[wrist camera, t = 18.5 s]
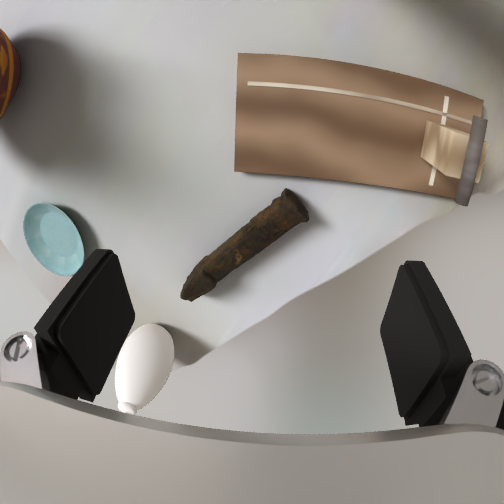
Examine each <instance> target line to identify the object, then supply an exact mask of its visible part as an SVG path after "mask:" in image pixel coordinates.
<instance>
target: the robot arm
mask: <svg viewBox="0 0 504 504" xmlns="http://www.w3.org/2000/svg"><path fill="white" fill-rule="evenodd" d="M134 320H135V312H134V309H133V306H132V302H131V299H130V296H129V293H128V290H127V286H126V283H125V280H124V276H123V273H122V269H121V266H120V262H119V259H118V256H117V255H116V254H114V252H113V251H112V250H108V249H96V250H95V251H94V252H93V253H92V254H91V255H90V256H89V258H88V259H87V260H86V261H85V262H84V263H83V265H82V266H81V267H80V268H79V269H78V271H77V272H76V273H75V274H74V276H73V277H72V278H71V279H70V281H69V282H68V283H67V284H66V286H65V287H64V288H63V289H62V291H61V292H60V293H59V295H58V296H57V297H56V298H55V300H54V301H53V302H52V304H51V305H50V306H49V308H48V309H47V310H46V312H45V313H44V314H43V316H42V317H41V319H40V320H39V322H38V323H37V324H36V326H35V327H34V329H35V330H36V332H37V334H36V336H35V337H34V336H33V335H32V334H31V333H29V332H19V333H16V334H14V335H12V336H11V337H9V338H8V339H7V340H6V341H5V343H4V344H3V346H2V348H1V352H0V504H504V373H503V371H502V370H501V369H500V368H499V367H498V366H497V365H495V364H494V363H493V362H490V361H487V360H477V361H474V362H473V360H472V357H471V353H470V350H469V348H468V346H467V344H466V342H465V340H464V337H463V335H462V333H461V331H460V329H459V327H458V325H457V323H456V321H455V319H454V317H453V315H452V313H451V311H450V309H449V307H448V305H447V303H446V301H445V299H444V297H443V295H442V293H441V292H440V290H439V288H438V286H437V284H436V283H435V281H434V279H433V277H432V276H431V274H430V272H429V270H428V268H427V267H426V265H425V263H424V262H423V261H406V262H405V264H404V265H401V266H400V267H399V270H398V273H397V277H396V280H395V283H394V287H393V290H392V294H391V297H390V300H389V303H388V306H387V309H386V312H385V315H384V318H383V321H382V324H381V328H380V333H381V338H382V342H383V345H384V349H385V353H386V357H387V361H388V366H389V370H390V374H391V378H392V383H393V387H394V392H395V396H396V401H397V405H398V411H399V415H400V416H401V417H404V419H405V425H406V426H407V425H413V424H419V427H416V428H409V429H400V430H390V431H378V432H364V433H348V434H317V435H316V434H312V435H311V434H272V433H271V434H270V433H255V432H240V431H230V430H221V429H212V428H205V427H197V426H190V425H183V424H178V423H171V422H166V421H160V420H155V419H151V418H146V417H141V416H136V415H132V414H128V413H123V412H119V411H115V410H111V409H107V408H103V407H100V406H96V405H93V404H89V403H86V402H82V401H79V400H77V399H78V397H80V398H81V399H84V400H87V401H90V402H93V401H94V399H95V396H96V395H98V394H100V392H101V391H102V388H103V386H104V384H105V382H106V380H107V377H108V375H109V373H110V371H111V369H112V366H113V364H114V362H115V360H116V358H117V356H118V354H119V352H120V350H121V347H122V345H123V343H124V341H125V339H126V337H127V335H128V333H129V331H130V329H131V327H132V325H133V323H134Z"/></svg>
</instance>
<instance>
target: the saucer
mask: <svg viewBox="0 0 504 504" xmlns="http://www.w3.org/2000/svg"><path fill="white" fill-rule="evenodd" d="M23 230H24V235H25V239H26V242H27V245H28V247H29V249H30V250H31V252H32V254H33V255H34V257H35V258H36V259H37V260H38V261H39V262H40V263H41V264H42V265H43V266H44V267H45V268H46V269H48V270H50V271H51V272H53V273H55V274H58V275H62V276H70V275H73V274H75V273H76V272H77V271H78V269H79V268H80V267H81V266H82V264H83V262H84V247H83V242H82V239H81V236H80V234H79V231H78V229H77V228H76V226H75V224H74V223H73V221H72V220H71V219H70V218H69V217H68V216H67V215H66V214H65V213H64V212H63V211H62V210H60V209H59V208H57V207H56V206H54V205H51V204H48V203H36V204H34V205H32V206H31V207H30V208H29V209H28V210H27V212H26V214H25V216H24V221H23Z"/></svg>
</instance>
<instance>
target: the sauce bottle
mask: <svg viewBox="0 0 504 504" xmlns="http://www.w3.org/2000/svg"><path fill="white" fill-rule="evenodd" d="M173 362H174V344H173V340H172V337H171V335H170V334H169V332H167V330H166V329H165V328H163V327H162V326H159V325H156V324H145V325H143V326H141V327H139V328H138V329H136V330H135V331H134V332H133V333H132V334H131V335H130V336H129V337H128V338H127V340H126V341H125V343H124V345H123V347H122V349H121V351H120V353H119V356H118V360H117V364H116V370H115V390H116V395H117V399H118V401H119V403H118V409H119V410H120V411H121V412H123V413H128V414H132V415H135V414H136V412H137V410H139V409H141V408H143V407H144V406H146V405H147V404H148V403H149V402H150V401H152V400H153V399H154V398H155V396H156V395H157V394H158V393H159V392H160V390H161V389H162V388H163V386H164V385H165V383H166V381H167V379H168V377H169V375H170V372H171V369H172V366H173Z"/></svg>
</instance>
